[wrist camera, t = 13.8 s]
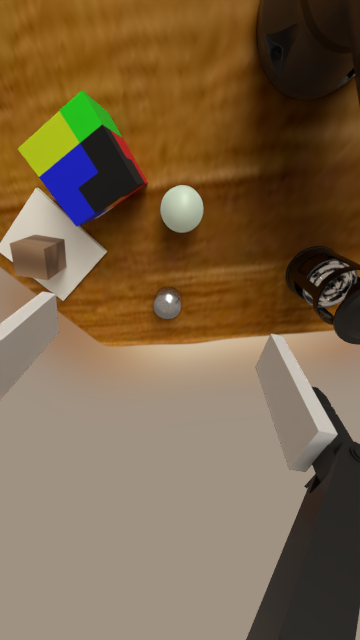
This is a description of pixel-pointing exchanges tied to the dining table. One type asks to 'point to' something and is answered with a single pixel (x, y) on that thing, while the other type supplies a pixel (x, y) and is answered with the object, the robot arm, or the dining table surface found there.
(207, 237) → the dining table surface
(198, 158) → the dining table surface
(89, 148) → the puzzle toy
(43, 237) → the walnut block
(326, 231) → the dining table surface
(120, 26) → the dining table surface
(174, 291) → the grey tin
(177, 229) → the pale green egg
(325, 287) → the french press
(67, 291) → the plate
